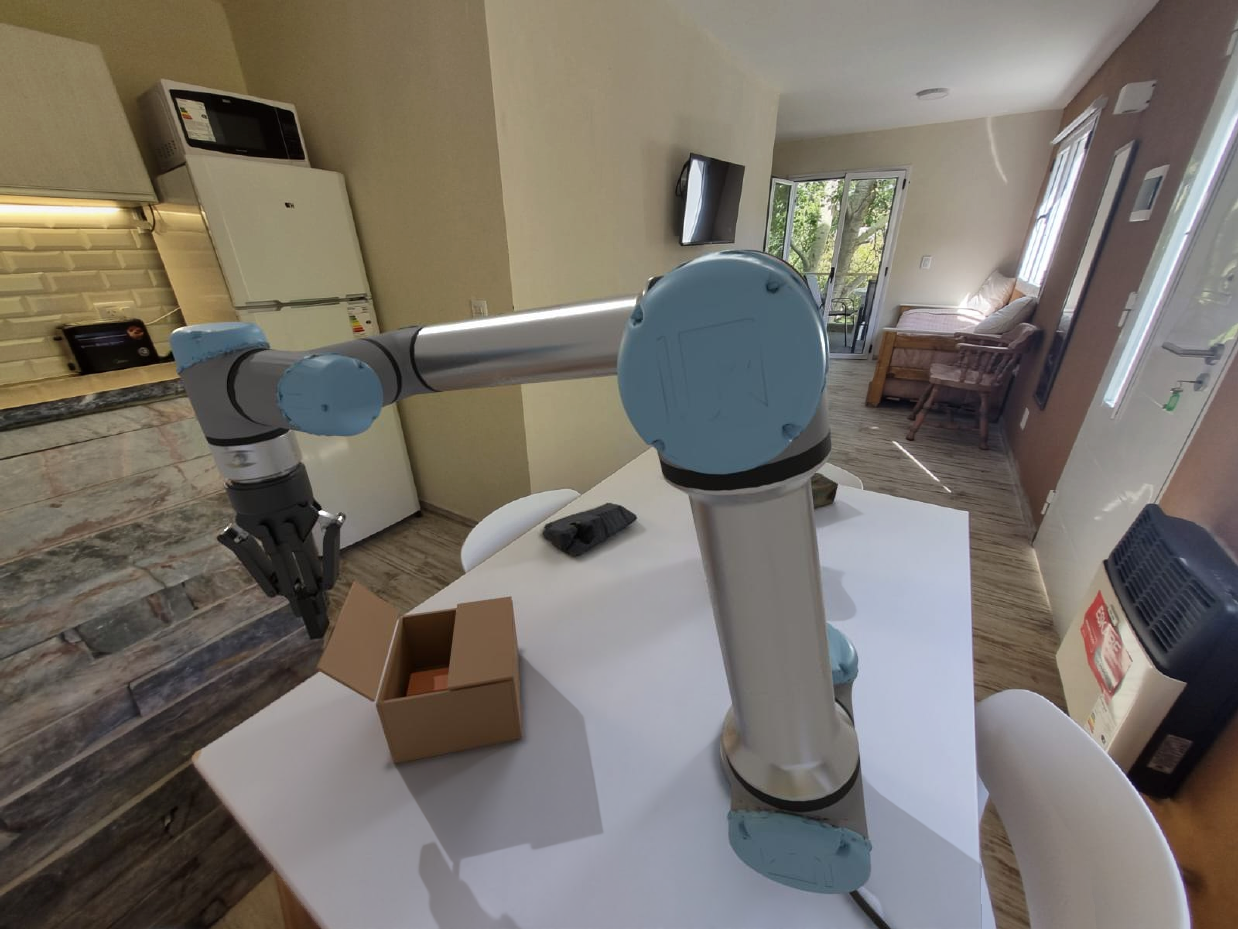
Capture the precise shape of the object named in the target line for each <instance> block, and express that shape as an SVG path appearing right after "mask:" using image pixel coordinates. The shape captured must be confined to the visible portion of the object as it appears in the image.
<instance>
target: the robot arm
mask: <svg viewBox="0 0 1238 929" xmlns="http://www.w3.org/2000/svg"><path fill="white" fill-rule="evenodd" d="M814 297H815V296H814V294H813V291H812V289H811V287H810V286H809V284H808V282H807V280H806V278H805V277H804V276H803V275H802V273H800V271H799V270H798V269H797V268H796V267H794V266H793V264H791V263H789V262H788V261H786V260H785V259H783V258H782V257H780V256H777V255H775V254H772V253H770V252H767V251H762V250H756V249H747V248H746V249H726V250H722V251H717V252H705V253H704V254H702V255H700V256H698V257H696V258H693V259H691V260H688V261H683V262H680V263H679V264H678V265H677V266H676V267H674V268H672V269H671V270H669V271H668V272H667V273H666V274H664V275H658V276H653V277H650V278H648V279H647V280H646V282H645V283H644V285H643V286H642V288H641V289H640V290H639V291H633V292H625V293H620V294H614V295H607V296H602V297H601V296H600V297H594V298H589V299H581V300H576V301H570V302H563V303H557V304H551V305H546V306H545V305H544V306H538V307H533V308H526V309H521V310H514V311H507V312H502V313H496V314H490V315H483V316H477V317H471V318H464V319H458V320H451V321H445V322H440V323H434V324H429V325H425V324H424V325H422V324H421V325H409V326H405V327H400V328H397V329H395V330H391V331H386V332H382V333H379V334H374V335H369V336H367V337H363V338H361V337H360V338H357V339H352V340H348V341H343V342H338V343H333V344H329V345H324V346H321V347H320V346H319V347H316V348H311V349H306V350H280V349H272V348H271V344H270V342H268V339H267V337H266V335H265V333H264V331H263V329H262V327H260V326H259V325H257V324H255V323H253V322H248V321H223V322H222V321H221V322H220V321H219V322H209V323H208V322H207V323H199V324H193V325H187V326H182V327H179V328H176V329H174V330H173V331H172V332H171V333H170V335H169V337H168V343H169V345H170V346H169V347H170V349H171V352H172V356H173V358H174V361H175V365H176V369H175V371H176V374H177V375H178V376H179V378H180V380H181V382H182V385H183V388H184V391H185V393H186V395H187V397H188V400H189V402H190V404H191V407H192V409H193V412H194V414H195V416H196V419H197V421H198V423H199V426H200V428H201V431H202V433H203V435H204V437H205V440H206V444H207V446H208V448H209V451H210V454H211V455H212V458H213V462H214V463H215V466H216V468H217V471H218V474H219V476H220V477H222V478H223V479H224V480H223V482H222V485H223V486H224V490H225V492H226V496H227V497H228V500H229V503H230V505H231V508H232V509H233V511H235V517H234V522H232V523H228V525H227V526H225V527H224V529H223V530H222V531H221V532H220V533H219V534H218V535H217V536H216V540H217V542H218V543H220V544H221V545H223V546H224V547H226V548H227V549H229V550H230V551H231V552H233V554H234V555H235V557H236V558H237V559H238V561H239V562H240V563H241V564H242V565H243V567H244V568H245V570H246V571H247V572H248V574H250V576H251V577H252V578H253V580H254V581H255V582H256V583H257V585H258V586H259V587H260V589H261V590H262V592H263V593H264V594H265V595H266V597H268V598H276V597H278V596H280V597H284V598H285V599H286V600H288V604H289V606H290V608H291V611H292V614H293V616H294V617H296V618H302V620H303V623H304V625H305V629H306V631H307V634H308V637H309V639H310V640H319V639H324V637H325V635H326V633H327V631H328V628H329V627H330V624H331V623H330V622H331V621H330V618H329V616H328V614H327V612H328V610H329V609H330V606H331V600H330V597H329V594H328V591H331V590H333V589H334V587H335V585H336V583H337V581H338V579H339V577H340V567H341V566H340V565H341V564H340V563H341V562H340V560H341V559H340V558H341V529H342V527H343V525H344V523H345V521H346V519H347V515H346V514H345V513H344V512H341V511H339V512H337V513H335V514H333V513H330V512H329V511H325V510H323V507H322V505H321V503H319V502H318V501H317V499H315V497H314V491H313V488H312V484H311V481H310V478H309V474H308V471H307V468H306V464H305V463H303V462H302V460H303V454H302V451H301V448H300V444H299V442H298V439H297V436H296V434H295V432H301V433H307V434H308V435H314V436H318V437H321V436H324V437H352V436H358V435H360V434H362V433H365V432H366V431H368V430H369V429H370V428H371V427H372V424H373V423H374V421H375V420H376V419H378V418H379V416H380V414H381V413H382V409H383V408H384V407H386V406H390V405H392V404H393V403H396V402H399V401H401V400H404V399H407V398H409V397H413V396H419V395H425V394H427V395H428V394H436V393H437V394H438V393H444V392H454V391H462V390H463V391H464V390H474V389H484V388H496V387H507V386H516V385H518V386H519V385H526V384H527V385H528V384H529V385H530V384H539V383H550V382H559V381H570V380H582V379H594V378H603V377H614V376H616V377H617V378H616V379H617V386H618V392H619V393H618V394H619V397H620V401H621V404H622V407H623V409H624V411H625V412H624V413H625V414H626V416H627V419H628V420H629V422H630V424H631V425H632V427H633V428H634V431H635V432H636V433H637V435H638V436H639V437H640V438H641V439H642V441H643V442H644V443H645V444H646V445H648V446H652V447H653V448H654V449H655V450H656V453H657V456H658V460H659V466H660V469H661V474H662V477H663V479H664V480H665V481H666V483H667V484H668V485H670V486H672V487H673V488H675V489H677V490H679V491H680V492H682V493H684V494H686V495H687V496H688V500H689V504H690V509H691V514H692V518H693V524H694V529H695V534H696V538H697V544H698V547H699V552H700V556H701V561H702V567H703V571H704V576H705V581H706V585H707V592H708V595H709V599H710V605H711V609H712V614H713V618H714V619H713V620H714V624H715V629H716V633H717V639H718V643H719V647H720V652H721V657H722V661H723V667H724V671H725V676H726V681H727V686H728V691H729V695H730V700H731V705H730V707H729V708H728V710H727V711H726V714H725V716H724V720H723V723H722V731H721V736H720V742H719V762H720V766H721V770H722V773H723V776H724V778H725V780H726V782H727V784H728V785H729V787H730V789H731V801H730V811H728V813H727V816H726V819H727V821H728V830H727V832H728V833H727V835H728V842H729V844H730V847H731V849H732V850H733V852H734V854H735V855H736V856H737V857H738V859H740V861H742V862H743V864H745V865H746V866H747V867H749V868H750V869H751V870H752V871H754V872H756V873H758V874H760V875H762V876H763V877H764V878H767V879H769V880H770V881H773V882H774V883H775V882H776V883H777V884H780V885H783V886H786V887H789V888H792V889H795V890H799V891H803V892H809V893H813V894H821V895H823V894H824V895H840V894H846V893H847V894H848V893H849V895H850V897H852V899H853V900H854V902H856V904H857V905H858V906H859V908H860V909H861V910H862V911H863V912H864V913H865V914H866V916H868V918H869V919H870V920H871V921H872V922H873V923H874V924H875V925H876V926H877V928H878V929H892V928H891V927H890V926H889V925H888V924H887V922H886V921H885V920H884V919H883V918H882V917H881V916H880V915H879V914H878V913H877V911H876V910H875V909H874V908H873V907H872V906H871V905H870V904H869V903H868V902H867V900H865V898H864V897H863V896H862V895H861V893H860V892H859V891H858V890H859V889H860V888H862V887H863V886H865V885H866V884H867V882H868V881H869V879H870V877H871V873H872V860H871V851H872V850H873V845H872V840H870V839H869V838H870V836H869V830H868V822H867V812H866V805H865V795H864V784H863V775H862V766H861V765H862V763H861V754H860V744H859V743H860V742H859V738H858V734H857V733H858V732H857V730H856V724H855V716H854V708H853V707H854V706H853V696H852V695H853V686H854V682H855V680H856V678H858V675H859V674H858V673H859V655H858V654H859V653H858V650H857V649H856V647H855V645H854V644H853V641H851V639H850V638H849V637H848V636H846V634H844V632H842V631H841V630H839V629H837V628H835V627H834V626H833V625H832V624H830V623H829V622H827V615H826V608H825V606H826V605H825V599H824V589H823V580H822V572H821V571H822V570H821V563H820V552H819V545H818V544H819V543H818V535H817V526H816V525H817V524H816V517H815V507H814V506H813V497H812V488H811V479H810V478H811V477H812V476H813V475H814V474H815V473H818V471H820V469H821V468H823V467H824V465H825V464H827V462H828V461H829V460H830V458H831V455H832V450H833V448H832V447H833V446H832V436H831V434H832V433H831V424H830V423H831V422H830V412H829V400H828V390H827V375H828V372H829V370H830V345H829V343H830V342H829V336H828V331H827V327H826V323H825V318H824V315H823V313H822V311H821V308H820V305H818V302H817V301H816V299H815V298H814ZM317 523H319V525H320V527H319V528H320V532H321V533H322V534H323V538H322V566H321V563H320V560H319V557H318V553H317V550H316V547H315V544H314V542H313V532H312V531H313V529H314V527H315V526H316V524H317ZM258 541H260V542H261V545H262V546H261V545H260V544H259V542H258ZM303 585H304V586H303ZM302 586H303V587H302Z"/></svg>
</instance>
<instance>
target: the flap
mask: <svg viewBox="0 0 1238 929" xmlns="http://www.w3.org/2000/svg"><path fill="white" fill-rule="evenodd" d="M399 617H400V611H399V610H397V609H396V608H395V607H393V606H392V605H390V604H389V603H388V602H386V601H385V600H383V599H382V598H381V597H379V596H378V595H377V594H375V593H374V592H372V591H371V590H369V589H368V588H367V587H365V586H364V585H362V584H360V582H358V581H357V580H354V581H353V582H352V585H351V587H350V588H349V591H348V594H347V596H346V598H345V600H344V603H343V605H342V607H341V610H340V612H339V615H338V617H337V619H336V621H335V623H334V625H333V628H332V631H331V632H330V635H329V636H328V639H327V642H326V644H325V646H324V649H323V652H322V653H321V655H320V658H319V661H318V663H317V665H316V667H315V670H316V671H318V672H320V673H322V674H323V675H325V676H327V677H329V678H331V679H332V680H333V681H336V682H337V683H339V684H340V685H342V686H344V687H346V688H348V689H350V690H351V691H353V692H355V693H357V694H358V695H360V696H361V697H364V698H365V699H367V700H368V701H370V702H371V703H373V702H375V701H376V698H377V696H378V695H377V694H378V692H379V689H380V684H381V681H382V678H383V674H384V671H385V667H386V666H385V665H386V663H387V660H388V659H387V658H388V656H389V653H390V649H391V645H392V642H393V638H394V635H395V631H396V627H397V624H398V620H399Z"/></svg>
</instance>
